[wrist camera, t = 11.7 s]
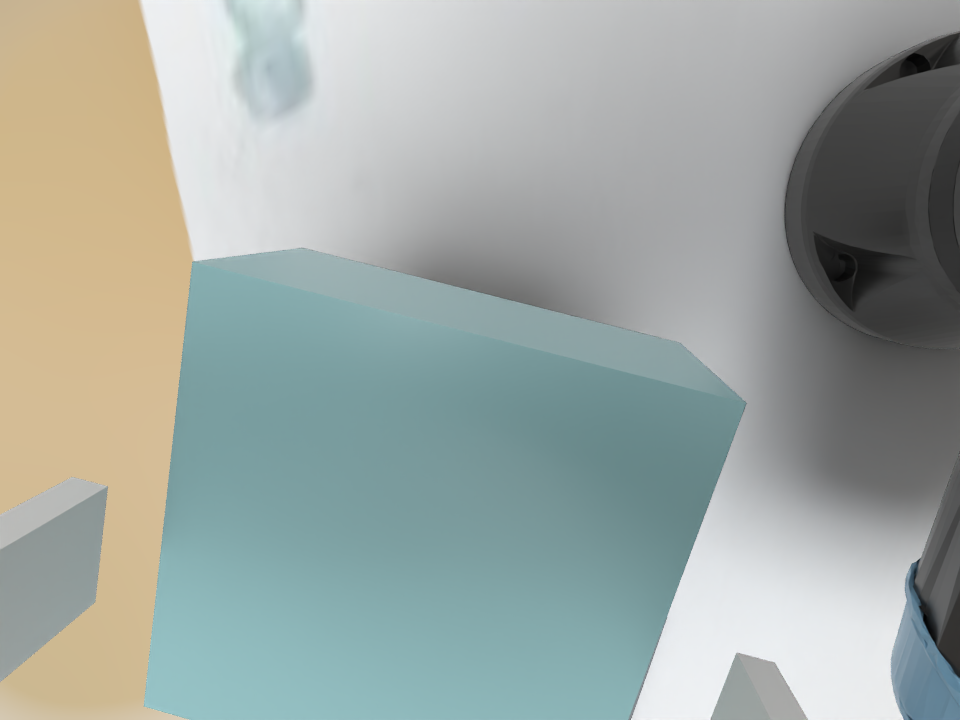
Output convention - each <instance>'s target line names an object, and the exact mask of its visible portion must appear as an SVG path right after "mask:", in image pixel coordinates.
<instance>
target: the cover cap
mask: <svg viewBox="0 0 960 720" xmlns="http://www.w3.org/2000/svg"><path fill="white" fill-rule="evenodd" d="M188 298H189V299H188V307H187V316H186V326H185V334H184V343H183V352H182V362H181V371H180V380H179V389H178V398H177V407H176V416H175V426H174V435H173V444H172V453H171V462H170V472H169V481H168V490H167V499H166V509H165V517H164V527H163V535H162V545H161V554H160V563H159V572H158V581H157V591H156V600H155V609H154V618H153V627H152V636H151V645H150V654H149V664H148V673H147V682H146V691H145V701H144V706H145V707H148V708H151V709H155V710H158V711H162V712H165V713H169V714H172V715H176V716H179V717H182V718H186V719H189V720H628V719H629V716H630V714H631V711H632V708H633V706H634V703H635V700H636V698H637V695H638V692H639V690H640V687H641V684H642V682H643V679H644V676H645V673H646V671H647V668H648V665H649V663H650V660H651V657H652V655H653V652H654V649H655V647H656V644H657V641H658V639H659V636H660V633H661V631H662V628H663V625H664V623H665V620H666V617H667V615H668V612H669V609H670V607H671V604H672V601H673V599H674V596H675V593H676V591H677V588H678V585H679V582H680V580H681V577H682V574H683V572H684V569H685V566H686V564H687V561H688V558H689V556H690V553H691V550H692V548H693V545H694V542H695V540H696V537H697V534H698V532H699V529H700V526H701V524H702V521H703V518H704V516H705V513H706V510H707V508H708V505H709V502H710V500H711V497H712V494H713V491H714V489H715V486H716V483H717V481H718V478H719V475H720V473H721V470H722V467H723V465H724V462H725V459H726V457H727V454H728V451H729V449H730V446H731V443H732V441H733V438H734V435H735V433H736V430H737V427H738V425H739V422H740V419H741V417H742V414H743V411H744V409H745V406H746V402H745V401H744V400H743V399H742V398H741V397H739V396H738V395H737V394H736V393H735V392H734V391H733V390H732V389H731V388H729V387H728V386H727V385H726V384H725V383H724V382H723V381H722V380H721V379H720V378H718V377H717V376H716V375H715V374H714V373H713V372H712V371H711V370H710V369H708V368H707V367H706V366H705V365H704V364H703V363H702V362H701V361H700V360H699V359H697V358H696V357H695V356H694V355H693V354H692V353H691V352H690V351H689V350H687V349H686V348H685V347H684V346H683V345H682V344H681V343H679V342H675V341H671V340H667V339H663V338H659V337H655V336H651V335H647V334H643V333H639V332H635V331H631V330H627V329H623V328H619V327H615V326H611V325H607V324H603V323H599V322H595V321H591V320H587V319H583V318H579V317H575V316H571V315H567V314H563V313H559V312H555V311H551V310H547V309H544V308H540V307H536V306H532V305H528V304H524V303H520V302H516V301H512V300H508V299H504V298H500V297H496V296H492V295H488V294H484V293H480V292H476V291H472V290H468V289H464V288H460V287H456V286H452V285H448V284H444V283H440V282H436V281H432V280H428V279H424V278H420V277H416V276H412V275H408V274H404V273H401V272H397V271H393V270H389V269H385V268H381V267H377V266H373V265H369V264H365V263H361V262H357V261H353V260H349V259H345V258H341V257H337V256H333V255H329V254H325V253H321V252H317V251H313V250H309V249H305V248H299V249H291V250H282V251H274V252H266V253H258V254H250V255H242V256H234V257H226V258H218V259H210V260H202V261H194V262H192V271H191V279H190V288H189V297H188Z"/></svg>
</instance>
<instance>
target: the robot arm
mask: <svg viewBox="0 0 960 720" xmlns="http://www.w3.org/2000/svg"><path fill="white" fill-rule="evenodd" d="M785 222H786V233H787V239H788V244H789V249H790V252H791V255H792V259H793V262H794V264H795V266H796V269H797V271H798V273H799V275H800V277H801V279H802V281H803V282H804V284H805V285H806V287H807V288H808V290H809V291H810V292H811V294H812V295H813V296H814V298H815V299H816V300H817V301H818V302H819V303H820V304H821V305H822V306H823V307H824V308H825V309H826V310H827V311H828V312H830V313H831V314H832V315H833V316H834V317H836V318H837V319H839V320H840V321H842V322H843V323H845V324H847V325H848V326H850V327H852V328H854V329H856V330H858V331H861V332H863V333H866V334H868V335H871V336H875V337H878V338H881V339H885V340H889V341H892V342H896V343H900V344H904V345H909V346H914V347H921V348H936V349H954V348H960V31H959V32H954V33H950V34H947V35H943V36H939V37H937V38H934V39H931V40H928V41H925V42H923V43H921V44H919V45H916V46H914V47H912V48H910V49H908V50H906V51H904V52H902V53H900V54H897V55H895V56H893V57H891V58H889V59H887V60H885V61H884V62H882V63H880V64H878V65H876V66H875V67H873V68H871V69H870V70H868V71H867V72H865V73H864V74H862V75H861V76H860V77H858V78H857V79H856V80H854V81H853V82H852V83H851V84H849V85H848V86H847V87H846V88H845V89H844V90H843V91H842V92H841V93H839V94H838V96H837V97H836V98H835V99H834V100H833V101H832V102H831V103H830V104H829V105H828V106H827V108H826V109H825V110H824V111H823V112H822V114H821V115H820V116H819V118H818V119H817V121H816V122H815V123H814V125H813V127H812V128H811V130H810V131H809V133H808V135H807V137H806V138H805V140H804V142H803V144H802V146H801V148H800V151H799V153H798V155H797V158H796V160H795V163H794V166H793V169H792V172H791V176H790V180H789V184H788V190H787V196H786V208H785ZM107 489H108V486H105V485H101V484H97V483H93V482H89V481H86V480H82V479H78V478H74V477H71V478H69V479H68V480H66V481H64V482H62V483H60V484H58V485H56V486H54V487H52V488H50V489H48V490H46V491H45V492H43V493H41V494H39V495H37V496H35V497H33V498H31V499H29V500H27V501H26V502H24V503H22V504H20V505H18V506H16V507H14V508H12V509H10V510H8V511H6V512H5V513H3V514H1V515H0V682H1V681H2V680H3V679H4V678H6V677H7V676H8V675H9V674H10V673H11V672H13V671H14V670H15V669H16V668H17V667H19V666H20V665H21V664H22V663H23V662H25V661H26V660H27V659H28V658H29V657H31V656H32V655H33V654H34V653H35V652H36V651H38V650H39V649H40V648H41V647H42V646H43V645H45V644H46V643H47V642H48V641H50V640H51V639H52V638H53V637H54V636H56V635H57V634H58V633H59V632H60V631H61V630H63V629H64V628H65V627H66V626H67V625H69V624H70V623H71V622H72V621H73V620H75V619H76V618H77V617H78V616H79V615H80V614H82V613H83V612H84V611H85V610H86V609H88V608H89V607H90V606H91V605H92V604H94V603H95V599H96V590H97V589H96V588H97V580H98V572H99V562H100V554H101V553H100V552H101V544H102V535H103V525H104V516H105V508H106V498H107ZM905 593H906V598H907V602H906V605H905V609H904V613H903V616H902V620H901V623H900V627H899V630H898V634H897V637H896V641H895V644H894V648H893V651H892V657H891V679H892V686H893V691H894V695H895V699H896V702H897V705H898V707H899V710H900V712H901V714H902V716H903V718H904V720H960V452H959V455H958V458H957V461H956V463H955V466H954V469H953V472H952V474H951V477H950V480H949V483H948V485H947V488H946V491H945V494H944V496H943V499H942V502H941V505H940V507H939V510H938V513H937V516H936V518H935V521H934V524H933V526H932V529H931V532H930V535H929V537H928V540H927V543H926V546H925V548H924V551H923V554H922V557H921V558H920V559H919V560H918V561H917V562H915V563H912V564H911V567H910V569H909V571H908V573H907V576H906V582H905ZM711 720H808V719H807V717H806V716H805V714H804V712H803V710H802V709H801V707H800V705H799V704H798V702H797V700H796V698H795V697H794V695H793V693H792V692H791V690H790V688H789V686H788V685H787V683H786V681H785V680H784V678H783V676H782V674H781V673H780V671H779V669H778V668H777V666H776V664H775V663H774V662H770V661H767V660H763V659H759V658H755V657H751V656H748V655H744V654H740V653H736V656H735V658H734V661H733V663H732V666H731V668H730V671H729V674H728V676H727V679H726V681H725V684H724V686H723V689H722V692H721V694H720V697H719V699H718V702H717V704H716V707H715V710H714V712H713V715H712V717H711Z"/></svg>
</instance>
